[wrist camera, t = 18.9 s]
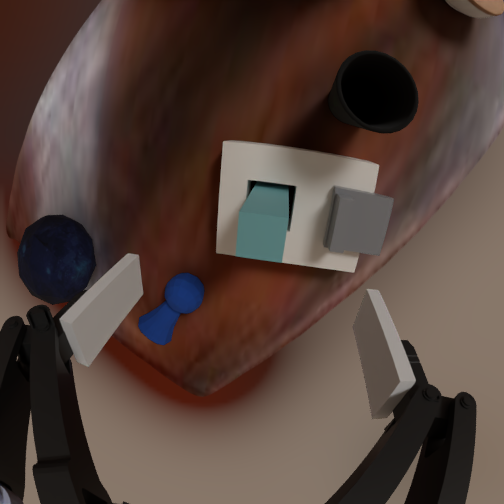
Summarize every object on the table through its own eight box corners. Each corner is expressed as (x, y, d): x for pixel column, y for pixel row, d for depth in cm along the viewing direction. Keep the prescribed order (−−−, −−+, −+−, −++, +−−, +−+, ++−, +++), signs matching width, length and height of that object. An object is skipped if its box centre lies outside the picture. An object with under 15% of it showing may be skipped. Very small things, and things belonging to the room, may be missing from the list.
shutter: (334, 185, 29) (339, 192, 26) (390, 196, 29) (401, 204, 26) (322, 243, 33) (326, 256, 29) (376, 251, 32) (384, 264, 29)
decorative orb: (45, 180, 32) (-12, 254, 25) (108, 232, 34) (48, 319, 27) (63, 219, 45) (21, 277, 38) (116, 262, 47) (73, 326, 40)
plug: (257, 181, 34) (239, 211, 22) (288, 185, 34) (288, 218, 22) (254, 210, 36) (235, 256, 24) (284, 214, 36) (281, 262, 23)
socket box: (230, 140, 33) (223, 141, 29) (369, 161, 31) (379, 165, 28) (222, 241, 39) (216, 252, 35) (348, 259, 37) (354, 272, 34)
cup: (362, 143, 31) (398, 150, 20) (309, 113, 30) (321, 103, 19) (387, 95, 27) (429, 83, 16) (335, 65, 27) (357, 35, 16)
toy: (172, 333, 49) (215, 288, 42) (159, 356, 43) (204, 313, 37) (143, 311, 48) (181, 261, 41) (128, 333, 42) (164, 283, 36)
